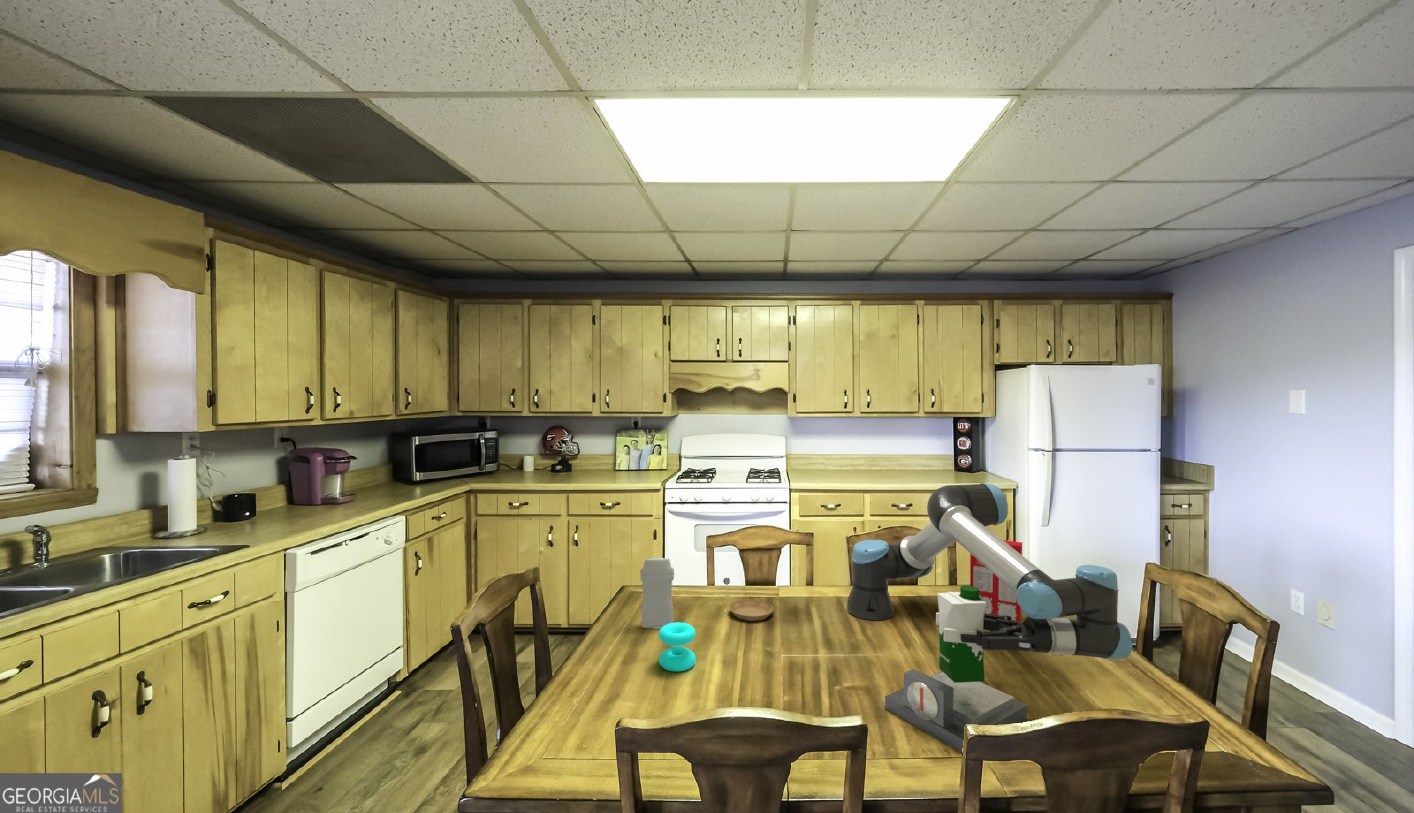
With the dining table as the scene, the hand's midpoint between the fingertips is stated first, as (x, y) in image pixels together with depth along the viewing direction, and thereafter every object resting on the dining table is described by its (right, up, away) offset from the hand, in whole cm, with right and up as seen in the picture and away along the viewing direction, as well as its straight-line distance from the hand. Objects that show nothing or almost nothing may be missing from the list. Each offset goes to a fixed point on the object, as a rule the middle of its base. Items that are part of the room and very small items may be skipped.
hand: (940, 626), depth 131 cm
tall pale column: (-70, -19, +47) cm, 86 cm away
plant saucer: (-39, -19, +57) cm, 72 cm away
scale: (+3, -19, -2) cm, 20 cm away
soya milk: (+5, -11, -1) cm, 12 cm away
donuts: (-62, -19, +22) cm, 69 cm away
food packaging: (+41, -19, +55) cm, 71 cm away
